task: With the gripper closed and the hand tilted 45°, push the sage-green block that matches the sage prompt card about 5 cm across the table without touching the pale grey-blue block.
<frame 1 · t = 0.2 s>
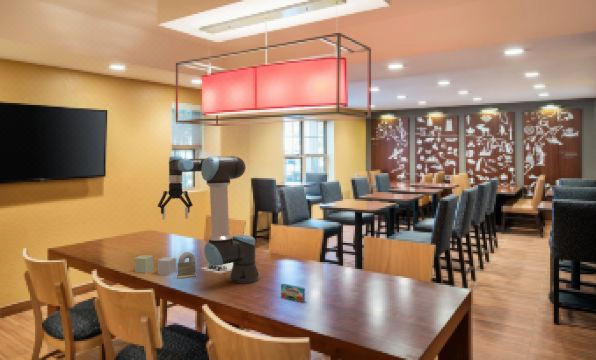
hand: (175, 219, 240), 28 cm above the table, tool pointing down, fingers open, 13 cm apart
sage block: (144, 270, 231), on the table
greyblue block: (167, 273, 227), on the table
prompt card: (186, 276, 220), on the table
flat green printed box: (292, 299, 186), on the table
donut: (187, 269, 234), on the table
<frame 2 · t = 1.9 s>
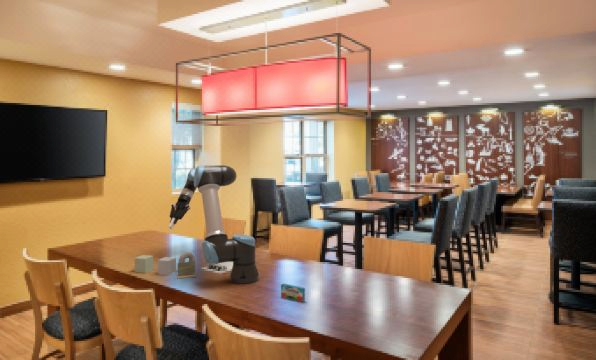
hand: (170, 227, 247), 21 cm above the table, tool tilted 45°, fingers closed
nothing on the table moved.
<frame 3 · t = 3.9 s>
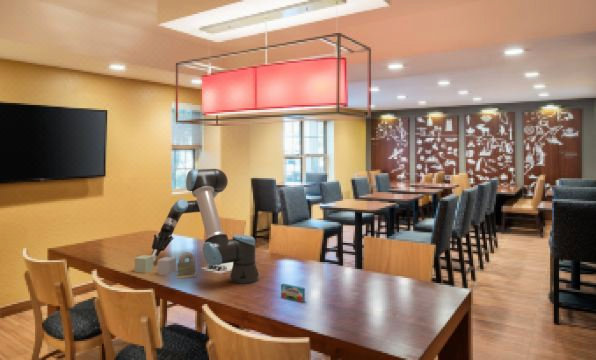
hand: (152, 260, 238), 4 cm above the table, tool tilted 45°, fingers closed
nothing on the table moved.
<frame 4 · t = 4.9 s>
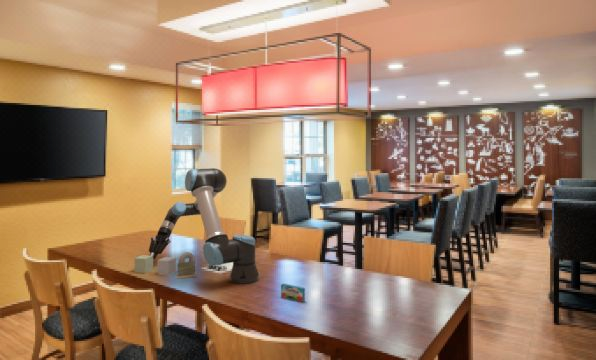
hand: (149, 263, 236), 3 cm above the table, tool tilted 45°, fingers closed
sage block: (144, 270, 231), on the table, touching gripper
everything else where it was.
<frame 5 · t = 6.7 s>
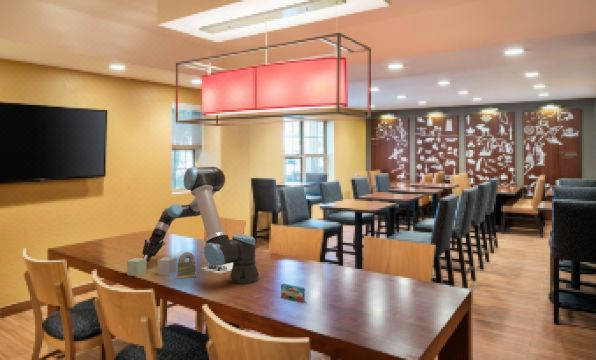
hand: (142, 266, 230), 3 cm above the table, tool tilted 45°, fingers closed
sage block: (137, 274, 226), on the table
everything else where it was.
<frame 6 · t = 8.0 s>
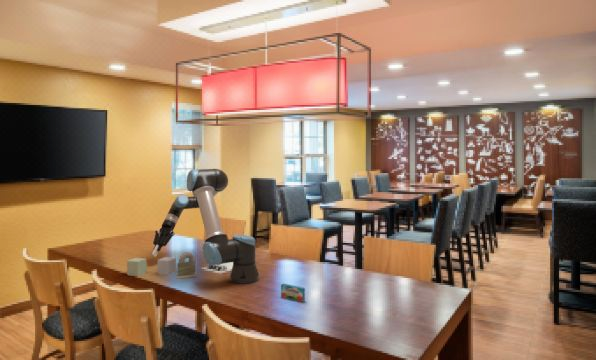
hand: (153, 255, 240), 7 cm above the table, tool tilted 45°, fingers closed
nothing on the table moved.
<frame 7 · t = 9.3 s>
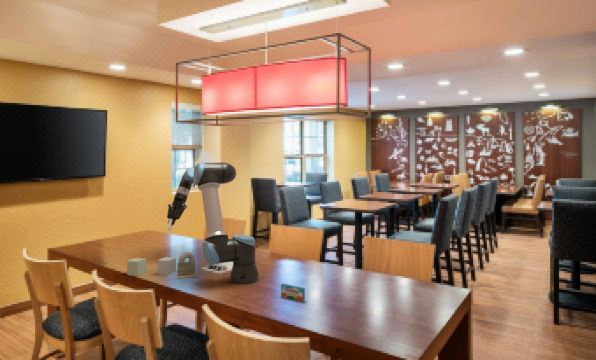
hand: (168, 229, 245), 21 cm above the table, tool tilted 35°, fingers closed
nothing on the table moved.
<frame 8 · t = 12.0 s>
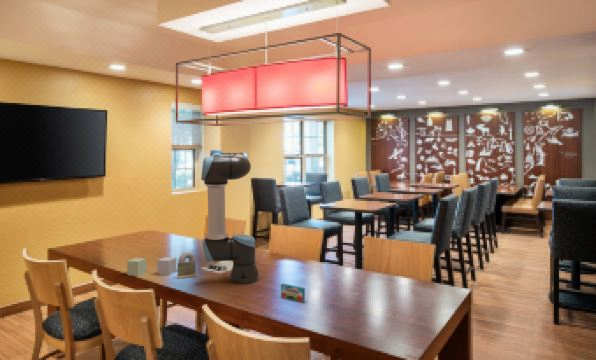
hand: (217, 212, 254), 29 cm above the table, tool pointing down, fingers closed
nothing on the table moved.
at the end: sage block moved 6.2 cm from its start; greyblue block moved 0.1 cm from its start; sage block tilted 0° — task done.
